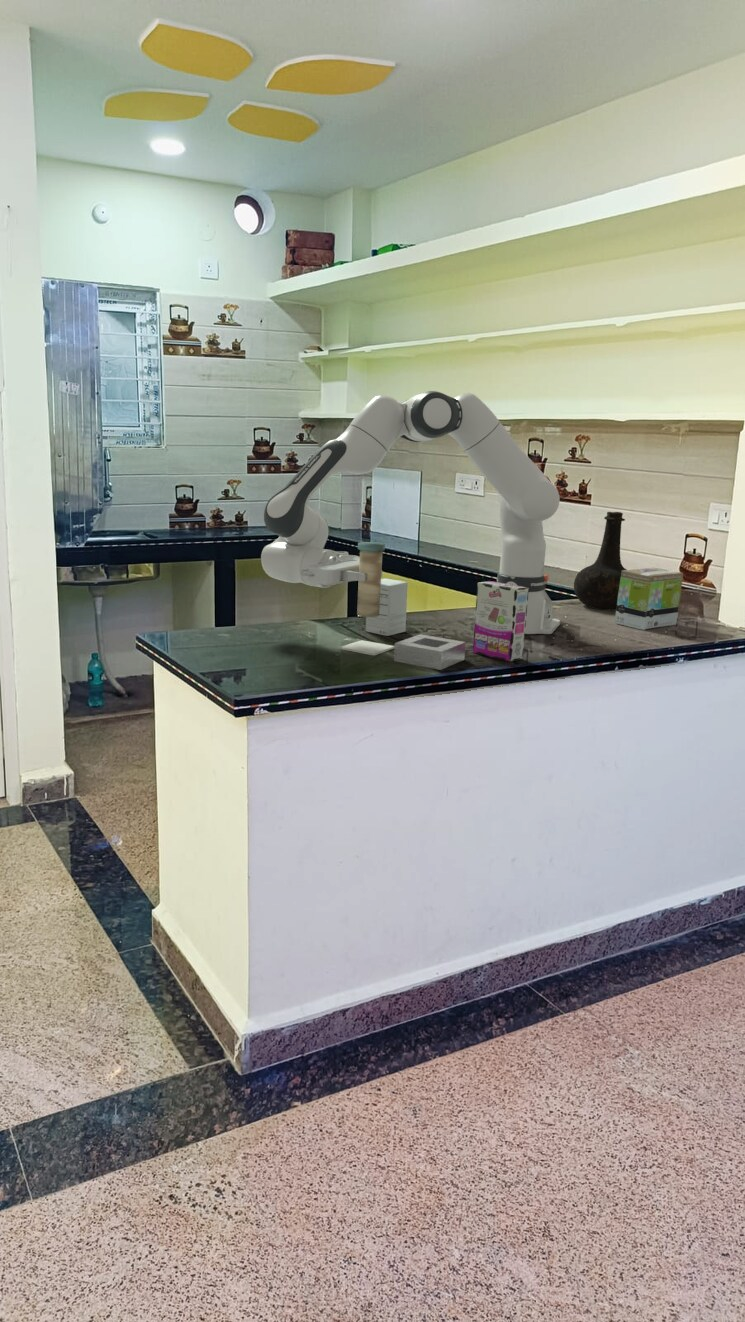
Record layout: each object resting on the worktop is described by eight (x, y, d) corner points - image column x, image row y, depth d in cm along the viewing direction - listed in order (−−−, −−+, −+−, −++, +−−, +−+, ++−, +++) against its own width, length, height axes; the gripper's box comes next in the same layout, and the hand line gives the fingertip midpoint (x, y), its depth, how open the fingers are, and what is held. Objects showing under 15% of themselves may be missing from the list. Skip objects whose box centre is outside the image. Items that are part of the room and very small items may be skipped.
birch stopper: (363, 610, 212) (367, 541, 208) (386, 614, 209) (390, 544, 205) (349, 614, 207) (352, 543, 203) (372, 618, 204) (376, 546, 200)
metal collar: (419, 651, 210) (420, 634, 209) (464, 659, 204) (465, 642, 203) (393, 661, 200) (394, 643, 199) (440, 670, 195) (441, 651, 194)
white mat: (361, 642, 216) (361, 640, 216) (394, 648, 212) (394, 646, 211) (340, 649, 209) (340, 647, 208) (374, 655, 204) (374, 653, 204)
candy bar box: (524, 659, 207) (530, 587, 203) (510, 662, 203) (516, 589, 199) (485, 649, 214) (490, 579, 210) (471, 652, 211) (476, 581, 207)
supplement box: (383, 627, 233) (385, 577, 230) (406, 632, 229) (408, 581, 225) (364, 631, 227) (366, 580, 224) (387, 636, 223) (390, 585, 220)
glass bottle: (560, 605, 272) (569, 509, 265) (595, 599, 284) (604, 507, 277) (611, 616, 260) (622, 516, 253) (646, 609, 271) (657, 513, 264)
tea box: (645, 631, 242) (651, 575, 238) (613, 623, 249) (619, 569, 245) (677, 625, 251) (684, 571, 247) (646, 618, 259) (652, 566, 255)
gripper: (295, 558, 203) (348, 566, 196) (346, 550, 220) (396, 557, 213) (295, 587, 204) (347, 595, 198) (345, 576, 221) (395, 584, 215)
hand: (373, 575), depth 205 cm, fingers closed on birch stopper, 5 cm apart
